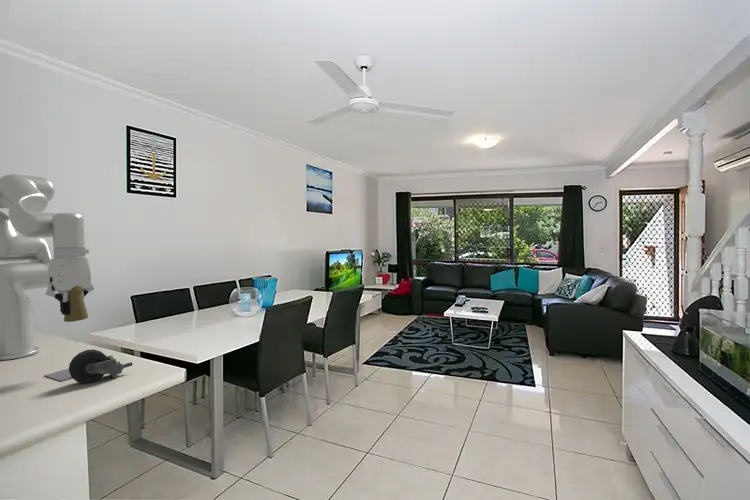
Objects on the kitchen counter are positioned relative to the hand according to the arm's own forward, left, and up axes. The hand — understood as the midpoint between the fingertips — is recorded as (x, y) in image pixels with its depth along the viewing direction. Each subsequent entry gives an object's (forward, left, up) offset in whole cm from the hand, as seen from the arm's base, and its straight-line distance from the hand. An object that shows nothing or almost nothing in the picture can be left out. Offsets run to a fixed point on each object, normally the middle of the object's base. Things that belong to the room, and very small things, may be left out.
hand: (71, 313), depth 119 cm
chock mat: (+3, -1, -18) cm, 18 cm away
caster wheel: (+15, 0, -18) cm, 24 cm away
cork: (0, +1, -2) cm, 3 cm away
